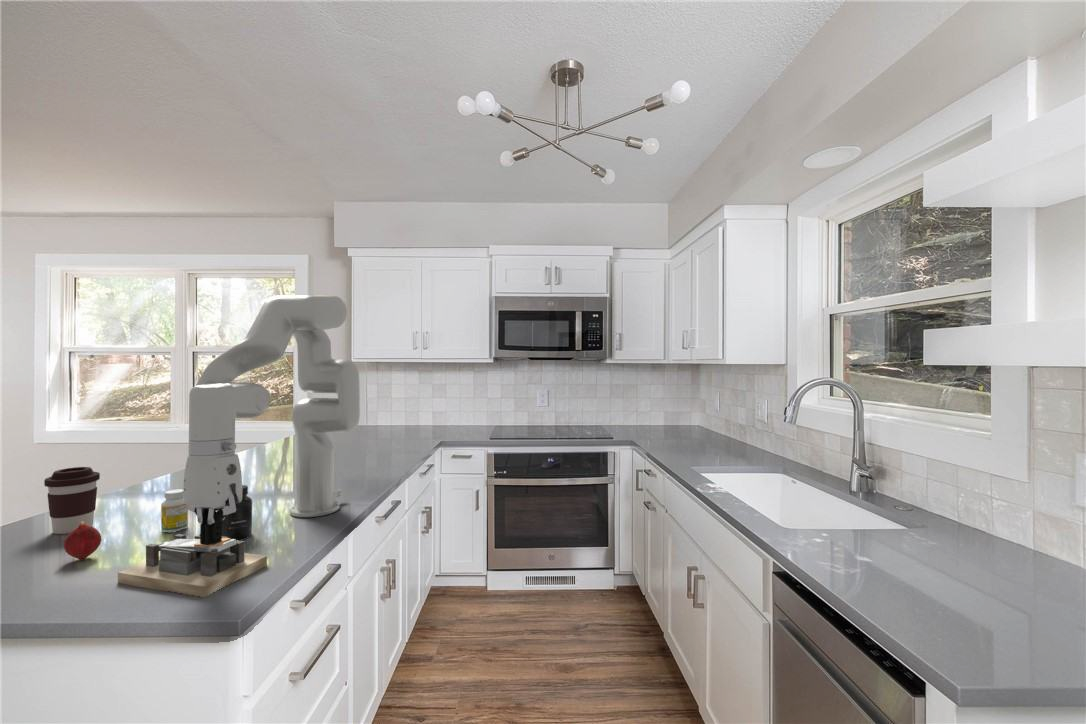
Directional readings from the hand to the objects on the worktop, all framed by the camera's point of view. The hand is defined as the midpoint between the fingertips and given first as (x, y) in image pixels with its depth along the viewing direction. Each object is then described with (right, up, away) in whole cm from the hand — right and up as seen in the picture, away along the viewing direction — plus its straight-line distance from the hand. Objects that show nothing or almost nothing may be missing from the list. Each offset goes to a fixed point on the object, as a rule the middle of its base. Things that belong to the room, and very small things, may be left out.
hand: (211, 542), depth 96 cm
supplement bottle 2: (-9, -7, +22) cm, 25 cm away
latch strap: (-4, -2, +2) cm, 5 cm away
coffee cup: (-52, -7, +26) cm, 59 cm away
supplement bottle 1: (-27, -7, +27) cm, 39 cm away
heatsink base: (-4, -7, +2) cm, 9 cm away
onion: (-33, -7, +9) cm, 35 cm away
